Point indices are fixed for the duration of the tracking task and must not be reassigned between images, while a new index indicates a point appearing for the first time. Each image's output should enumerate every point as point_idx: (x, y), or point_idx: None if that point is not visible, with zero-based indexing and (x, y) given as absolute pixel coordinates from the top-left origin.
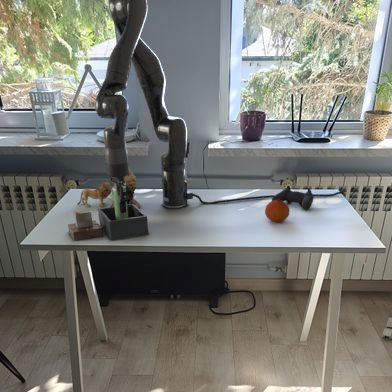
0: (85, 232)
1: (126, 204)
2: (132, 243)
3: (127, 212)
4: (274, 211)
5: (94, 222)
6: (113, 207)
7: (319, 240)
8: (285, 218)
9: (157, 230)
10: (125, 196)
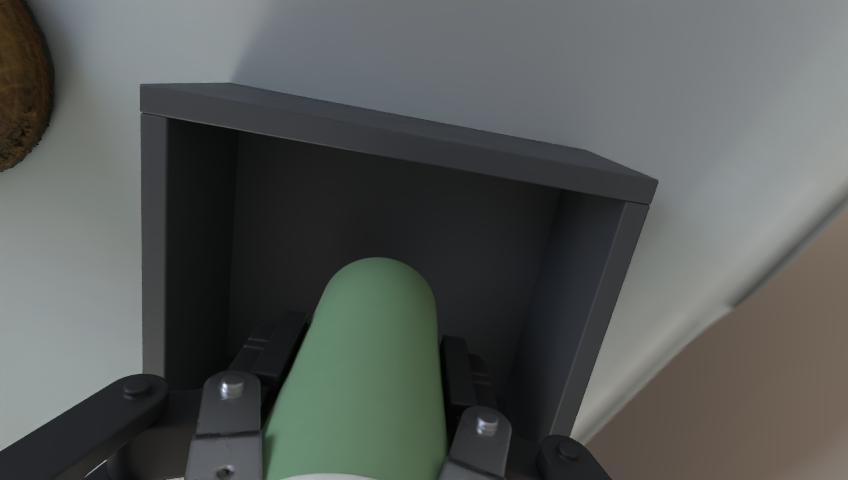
0: None
1: (425, 349)
2: (650, 323)
3: (414, 292)
4: None
5: None
6: (168, 329)
7: None
8: None
9: (560, 34)
10: (504, 472)
